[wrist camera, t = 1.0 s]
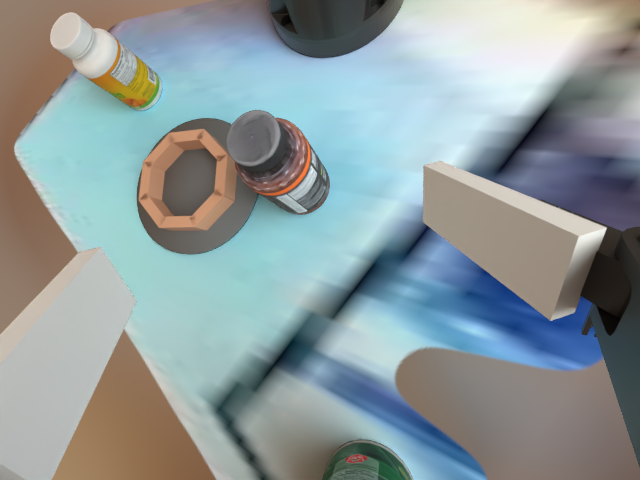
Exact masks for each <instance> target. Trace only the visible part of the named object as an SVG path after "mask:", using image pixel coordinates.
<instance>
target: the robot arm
mask: <svg viewBox="0 0 640 480" xmlns="http://www.w3.org/2000/svg"><path fill="white" fill-rule="evenodd" d="M266 3H267V8H268V11H269V14H270V17H271V19H272V21H273V23H274V25H275V27H276V30H277V32H278V34H279V35H280V37H281V38H282V40H283V41H284V42H285V43H286V44H287V45H288V46H289V47H290V48H292V49H293V50H295V51H297V52H299V53H301V54H304V55H308V56H313V57H333V56H338V55H342V54H346V53H349V52H351V51H354V50H356V49H358V48H360V47H362V46H364V45H366V44H367V43H369V42H370V41H372V40H373V39H374V38H376V37H377V36H378V35H379V34H380V33H382V32H383V31H384V30H385V29H386V28H387V26H388V25H389V24H390V23H391V22H392V20H393V19H394V18H395V16H396V14H397V13H398V11H399V9H400V7H401V5H402V3H403V0H266ZM423 222H424V223H425V224H426V225H427V226H429V227H430V228H431V229H433V230H434V231H435V232H437V233H438V234H439V235H440V236H442V237H443V238H444V239H446V240H447V241H448V242H449V243H451V244H452V245H453V246H455V247H456V248H457V249H458V250H460V251H461V252H462V253H464V254H465V255H466V256H468V257H469V258H470V259H471V260H473V261H474V262H475V263H477V264H478V265H479V266H480V267H482V268H483V269H484V270H486V271H487V272H488V273H490V274H491V275H492V276H493V277H495V278H496V279H497V280H499V281H500V282H501V283H502V284H504V285H505V286H506V287H508V288H509V289H510V290H511V291H513V292H514V293H515V294H517V295H518V296H519V297H521V298H522V299H523V300H524V301H526V302H527V303H528V304H530V305H531V306H532V307H533V308H535V309H536V310H537V311H539V312H540V313H541V314H543V315H544V316H545V317H546V318H548V319H549V320H550V321H552V320H555V319H558V318H561V317H563V316H566V315H569V314H572V313H574V312H575V310H576V307H577V305H578V302H579V299H580V297H581V296H582V297H584V298H586V299H587V300H589V301H590V302H592V306H591V308H590V310H589V313H588V315H587V318H586V320H585V322H584V325H583V327H582V334H583V335H587V334H588V331H589V329H590V328H591V327H593V326H594V329H595V332H596V333H595V335H594V337H597V338H598V341H599V345H600V348H601V351H602V354H603V357H604V360H605V363H606V366H607V369H608V372H609V375H610V378H611V381H612V384H613V387H614V390H615V393H616V396H617V400H618V403H619V406H620V409H621V412H622V415H623V418H624V421H625V424H626V427H627V430H628V433H629V436H630V439H631V442H632V445H633V448H634V451H635V454H636V458H637V461H638V464H639V467H640V227H634V228H629V229H626V230H625V231H624V232H622V231H620V230H617V229H615V228H612V227H610V226H607V225H604V224H602V223H599V222H597V221H594V220H592V219H589V218H587V217H584V216H582V215H579V214H576V213H571V211H569V210H566V209H564V208H558V206H556V205H554V204H551V203H548V202H546V201H543V200H539V199H534V198H531V197H529V196H526V195H524V194H521V193H519V192H516V191H514V190H511V189H509V188H506V187H504V186H501V185H499V184H496V183H494V182H491V181H489V180H486V179H484V178H481V177H479V176H476V175H474V174H471V173H469V172H466V171H464V170H461V169H459V168H456V167H454V166H451V165H449V164H446V163H444V162H441V161H438V162H434V163H430V164H426V165H424V181H423ZM136 302H137V301H136V299H135V298H134V296H133V295H132V293H131V292H130V290H129V289H128V287H127V286H126V284H125V283H124V281H123V279H122V278H121V276H120V275H119V273H118V272H117V270H116V269H115V267H114V266H113V264H112V263H111V261H110V260H109V258H108V257H107V255H106V254H105V252H104V251H103V249H102V248H101V247H98V248H94V249H90V250H86V251H82V252H79V253H78V254H77V255H76V256H75V257H74V258H73V259H72V260H71V261H70V262H69V263H68V264H67V265H66V266H65V267H64V269H63V270H62V271H61V272H60V273H59V274H58V275H57V276H56V277H55V278H54V279H53V280H52V281H51V282H50V283H49V284H48V285H47V286H46V287H45V288H44V290H43V291H42V292H41V293H40V294H39V295H38V296H37V297H36V298H35V299H34V300H33V301H32V302H31V303H30V304H29V305H28V306H27V307H26V308H25V309H24V310H23V312H21V314H20V315H19V316H18V317H17V318H16V319H15V320H14V321H13V322H12V323H11V324H10V325H9V326H8V327H7V328H6V329H5V330H4V331H3V332H2V333H1V334H0V480H52V478H53V476H54V474H55V472H56V469H57V467H58V465H59V463H60V461H61V459H62V457H63V455H64V453H65V451H66V449H67V447H68V444H69V442H70V440H71V438H72V436H73V434H74V432H75V430H76V428H77V426H78V424H79V422H80V419H81V417H82V415H83V413H84V411H85V409H86V407H87V405H88V403H89V401H90V398H91V396H92V394H93V392H94V390H95V388H96V386H97V384H98V382H99V380H100V378H101V376H102V373H103V371H104V369H105V367H106V365H107V363H108V361H109V359H110V357H111V355H112V353H113V350H114V348H115V346H116V344H117V342H118V340H119V338H120V336H121V334H122V332H123V330H124V327H125V325H126V323H127V321H128V319H129V317H130V315H131V313H132V311H133V309H134V307H135V304H136Z"/></svg>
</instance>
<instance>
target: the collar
mask: <svg viewBox="0 0 640 480" xmlns="http://www.w3.org/2000/svg"><path fill="white" fill-rule="evenodd" d="M204 148H207V149H208V150H209V151H210V153H211V154H212V155H213V156H214V157H215V158H216V159H217V166H216V178H215V189H214V193H213V194H212V195H211V196H210V197H209V198H208V199H207V200H206V201H205V202H204V203H203V204H202V205H201V206H200V208H199V209H198V210H197V211H196V212H195V213H194V214H193V215H192V216H174V215H173V214H172V213H171V211H170V210H169V209H168V208H167V206H166V205H165V204H164V202H163V201H162V195H163V185H164V176H165V171H166V170H167V169H168V168H169V167H170V166H171V165H172V164H173V162H174V161H175V160H176V159H177V158H178V157H179V156H180V155H181V154H182V153H183V152H184V150H194V149H204ZM236 177H237V170H236V168H235V161H234V160H233V159H232V158H231V156H230V155H229V153H228V151H227V150H226V149H225V148H224V147H223V146H222V145H221V144H220V143H219V141H218V140H217V139H216V138H215V137H213V136H212V135H211V134H210V133H208V132H207V131H206V130H205V129H198V130H189V131H181V132H172V133H169V134H168V135H167V136H166V137H165V138H164V139H163V140H162V141H161V143H160V144H159V145H158V146H157V147H156V148H155V149H154V150H153V151H152V153H151V154H150V155H149V156H148V157H147V158H146V159H145V160H144V161H143V167H142V175H141V184H140V192H139V201H140V203H141V204H142V206H143V207H144V208H145V210H146V211H147V212H148V214H149V215H150V216H151V218H152V219H153V220H154V222H155V223H156V224H157V226H158V227H159V228H163V229H167V230H171V231H200V230H208V229H209V228H210V227H211V226H212V225H213V224H214V222H215V221H216V220H217V219H218V218H219V217H220V216H221V215H222V214H223V213H224V212H225V211H226V210H227V209H228V208H229V207H230V206H231V205H232V204H233V203H234V201H235V191H236Z"/></svg>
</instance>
